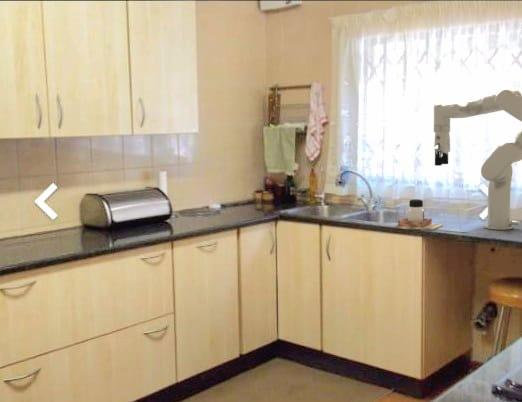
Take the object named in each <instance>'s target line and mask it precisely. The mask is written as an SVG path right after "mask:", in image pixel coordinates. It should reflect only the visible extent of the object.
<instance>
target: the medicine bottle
mask: <svg viewBox="0 0 522 402" xmlns="http://www.w3.org/2000/svg"><path fill="white" fill-rule="evenodd" d="M423 203H424V201H423V199H410V200H409V209H408V211H407V217H408V221H417V222H422V221H424V218H425V209H423V208H424V207H423V205H424V204H423Z"/></svg>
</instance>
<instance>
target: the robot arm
mask: <svg viewBox="0 0 522 402" xmlns="http://www.w3.org/2000/svg"><path fill="white" fill-rule="evenodd" d="M500 111H504V112H506V113H507V114H508V115H510V116H512V117H513V118H514V119H516V120H518V121H520V122H522V93H521V91H519V89H518V90H517V89H514V88H504V89H501V90H499V91H497V92H492V93H488V94H484V95H482V96H481V97H480V98H476V99H473V100H468V101H452V102H448V103H447V102H439V103H435V104H434V106H433V133H434V148H433V149H434V166H435V167H436V166H440V167H441V166H442V165H448V164H449V153H450V152H451V136H450V132H451V119H466V118H471V117H475V116H480V115H487V114H493V113H497V112H500ZM520 161H522V129H521V130H520V131H519V132H518V133H517V135H515V136H514V138H512V139H511V140H508V141H505V142H502V143H501V144H499V145H498V146H497V147H496V149H494V150H493V152H492V153H491V154H490V155H489V156H488V158H487V159H486V160H485V161H484V163H483V164H482V166H481V168H480V175H481V176H482V178H483V179H484V180H485V181H488V189H487V191H488V192H487V196H488V197H487V223H485V224H483V228H485V229H489V230H496V231H499V230H500V231H502V230H503V231H504V230H512V229H514V226H520V225H521V224H520V223H521V222H520V221H519V220H512V219H513V218H512V217H511V186H512V180H513V179H512V178H513V164H514V163H518V162H520Z"/></svg>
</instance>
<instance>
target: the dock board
mask: <svg viewBox="0 0 522 402" xmlns="http://www.w3.org/2000/svg"><path fill="white" fill-rule="evenodd" d="M432 222H433V221H432V218H429V217H424V221H422V222H417V221H408V216H407V217H404V218H401V219H399V220H398V221H397V225H395V229H403V230H404V229H405V230H414V229H421V230H420V231H431V232H433V230H434V231H436V230H438V229H440V228H441V227H443V225H444V224H443V223H432ZM437 228H438V229H437ZM435 229H436V230H435Z"/></svg>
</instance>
